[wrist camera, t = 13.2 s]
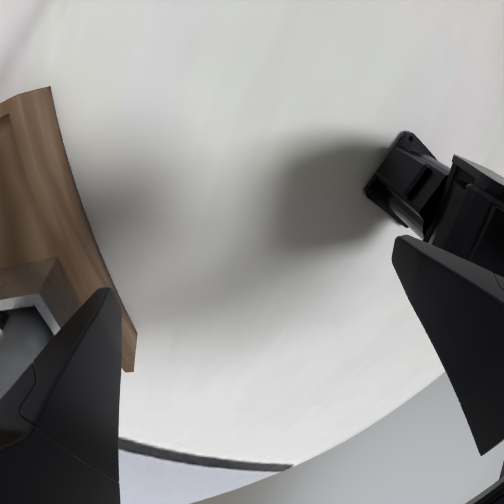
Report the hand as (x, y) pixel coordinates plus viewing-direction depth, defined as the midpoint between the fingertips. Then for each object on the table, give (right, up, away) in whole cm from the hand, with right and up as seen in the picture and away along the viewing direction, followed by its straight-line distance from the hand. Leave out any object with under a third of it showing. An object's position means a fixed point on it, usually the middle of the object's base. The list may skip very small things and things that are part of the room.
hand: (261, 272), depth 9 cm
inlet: (-19, -3, +14) cm, 24 cm away
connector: (-19, -3, +14) cm, 24 cm away
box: (-19, +1, +11) cm, 22 cm away
